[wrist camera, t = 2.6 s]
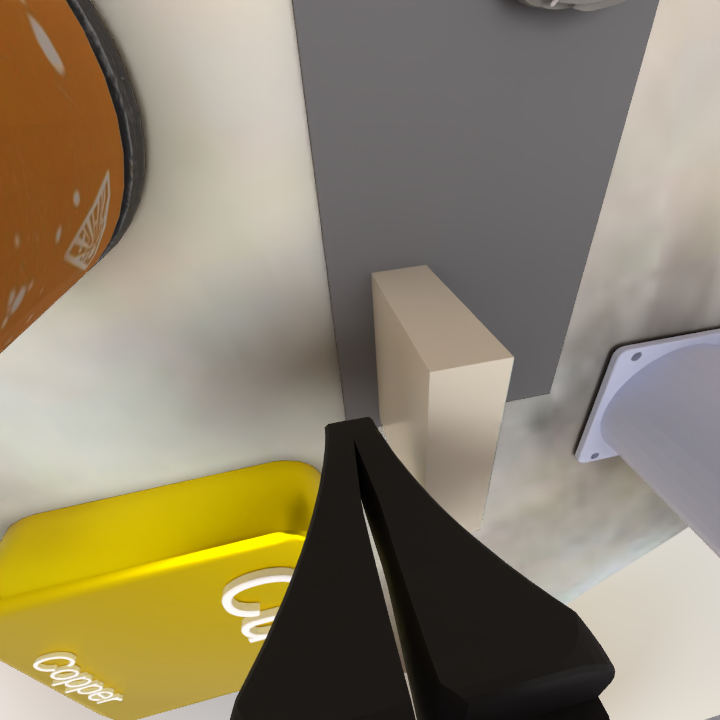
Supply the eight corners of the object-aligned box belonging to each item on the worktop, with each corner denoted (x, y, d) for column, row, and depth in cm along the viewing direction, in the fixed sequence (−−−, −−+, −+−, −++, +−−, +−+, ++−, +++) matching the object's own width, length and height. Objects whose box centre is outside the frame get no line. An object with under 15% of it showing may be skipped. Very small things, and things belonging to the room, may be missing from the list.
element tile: (-12, 517, 17) (-94, 639, 13) (316, 445, 19) (328, 535, 15) (135, 643, 26) (112, 739, 22) (351, 586, 27) (364, 667, 23)
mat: (731, -311, 8) (751, -329, 8) (544, 388, 19) (549, 393, 19) (248, -332, 7) (248, -352, 6) (346, 426, 18) (348, 432, 17)
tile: (430, 264, 14) (520, 356, 9) (425, 409, 18) (484, 528, 13) (371, 272, 13) (429, 372, 8) (379, 418, 17) (423, 542, 12)
